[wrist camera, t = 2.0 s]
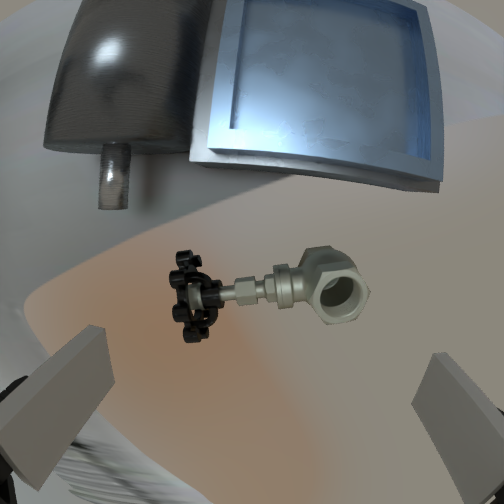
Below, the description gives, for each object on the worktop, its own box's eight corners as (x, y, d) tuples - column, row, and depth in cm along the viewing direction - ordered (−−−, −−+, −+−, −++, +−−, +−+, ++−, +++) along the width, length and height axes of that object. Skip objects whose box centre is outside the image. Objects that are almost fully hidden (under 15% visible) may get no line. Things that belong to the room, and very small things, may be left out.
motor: (93, 202, 21) (9, 215, 11) (120, 29, 18) (66, -22, 8) (401, 227, 21) (479, 254, 11) (403, 45, 17) (459, -5, 7)
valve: (341, 222, 21) (188, 242, 22) (372, 236, 15) (160, 264, 15) (346, 301, 22) (204, 319, 23) (372, 339, 16) (185, 362, 17)
